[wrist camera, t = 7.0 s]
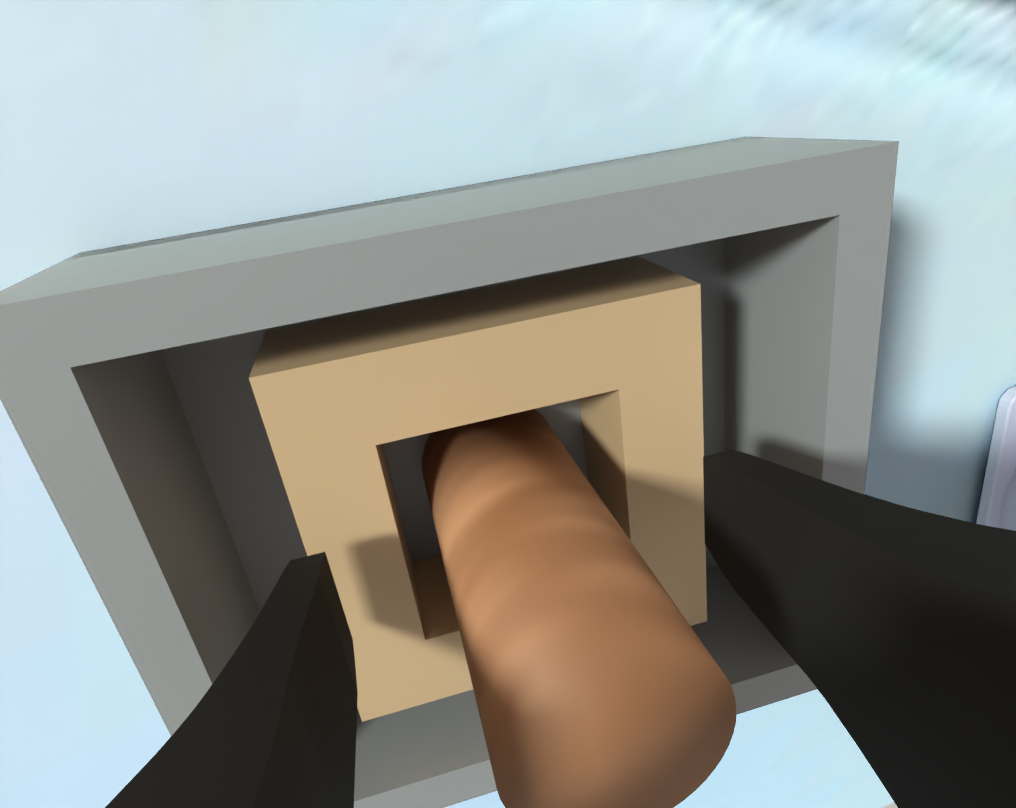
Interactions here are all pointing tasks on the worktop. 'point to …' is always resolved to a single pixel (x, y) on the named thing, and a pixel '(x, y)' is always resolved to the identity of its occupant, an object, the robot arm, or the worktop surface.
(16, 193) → the worktop surface
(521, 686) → the peg
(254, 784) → the robot arm
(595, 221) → the tray
